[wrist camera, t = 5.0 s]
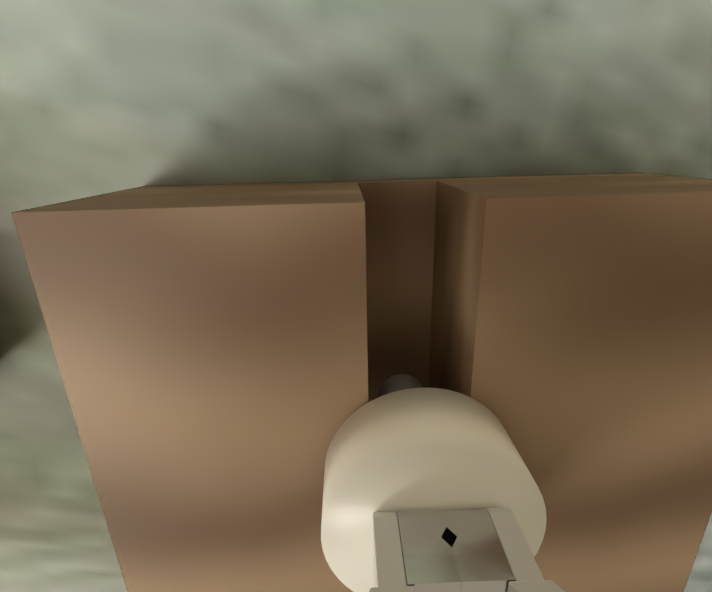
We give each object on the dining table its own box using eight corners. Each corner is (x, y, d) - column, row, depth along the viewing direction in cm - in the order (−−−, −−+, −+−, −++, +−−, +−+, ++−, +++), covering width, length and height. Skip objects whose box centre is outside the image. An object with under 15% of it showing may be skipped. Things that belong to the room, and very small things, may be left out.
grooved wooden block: (534, 692, 25) (591, 852, 19) (244, 707, 24) (214, 874, 19) (639, 172, 15) (826, 189, 9) (142, 186, 14) (11, 212, 9)
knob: (468, 450, 15) (531, 606, 10) (332, 455, 15) (326, 615, 10) (478, 325, 14) (561, 437, 8) (325, 331, 13) (313, 447, 8)
